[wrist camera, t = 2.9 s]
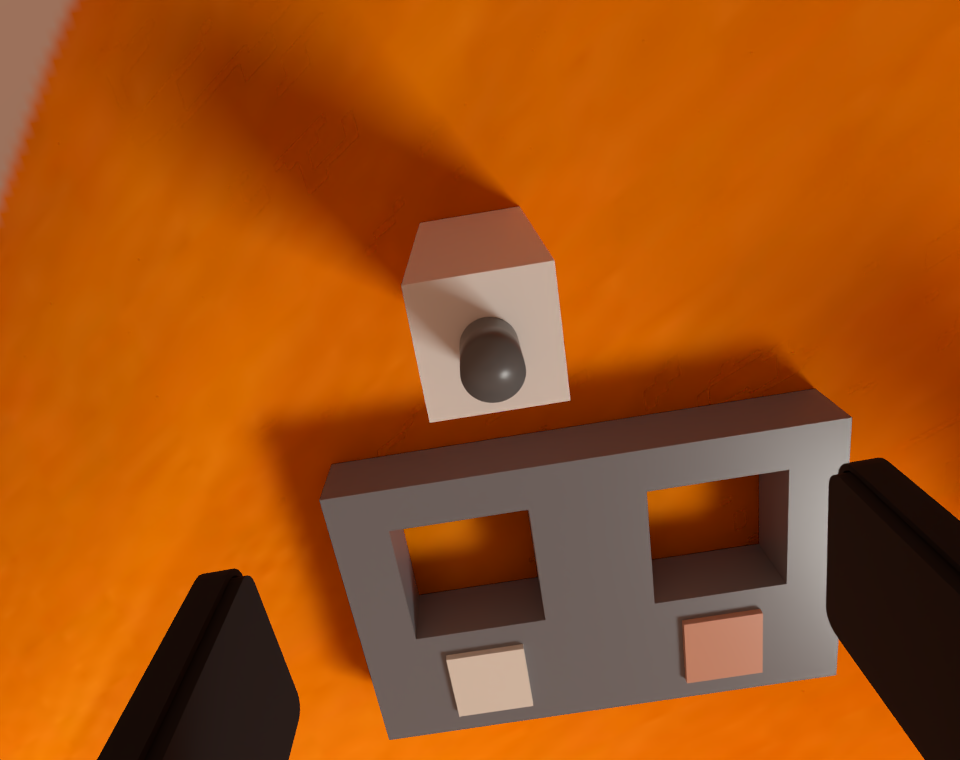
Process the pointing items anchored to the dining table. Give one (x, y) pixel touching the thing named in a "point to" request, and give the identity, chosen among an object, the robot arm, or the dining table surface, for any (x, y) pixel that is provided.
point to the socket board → (594, 566)
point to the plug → (484, 316)
